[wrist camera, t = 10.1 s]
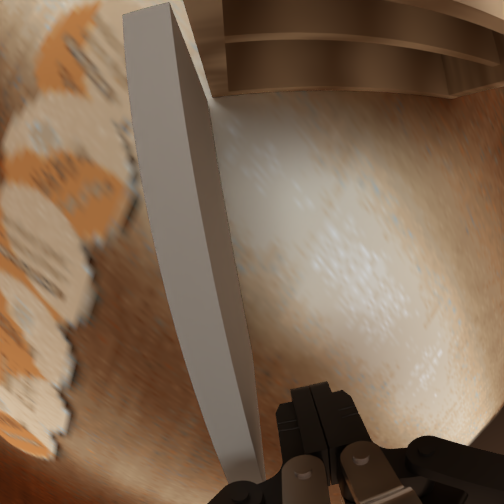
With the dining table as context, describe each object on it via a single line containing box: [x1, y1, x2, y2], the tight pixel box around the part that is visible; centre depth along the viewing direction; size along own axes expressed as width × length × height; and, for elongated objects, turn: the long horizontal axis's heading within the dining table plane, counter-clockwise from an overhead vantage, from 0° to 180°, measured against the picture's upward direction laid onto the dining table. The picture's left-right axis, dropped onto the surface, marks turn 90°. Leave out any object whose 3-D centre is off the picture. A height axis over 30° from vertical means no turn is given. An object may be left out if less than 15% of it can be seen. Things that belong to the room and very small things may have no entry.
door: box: [123, 2, 266, 484], centre depth 14 cm, size 16×2×12 cm, turn 9°
